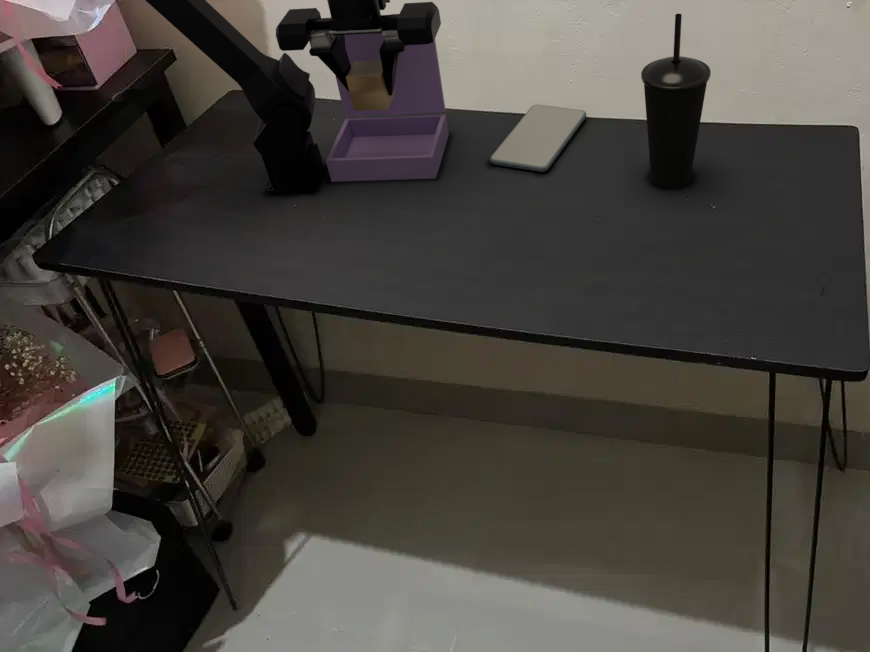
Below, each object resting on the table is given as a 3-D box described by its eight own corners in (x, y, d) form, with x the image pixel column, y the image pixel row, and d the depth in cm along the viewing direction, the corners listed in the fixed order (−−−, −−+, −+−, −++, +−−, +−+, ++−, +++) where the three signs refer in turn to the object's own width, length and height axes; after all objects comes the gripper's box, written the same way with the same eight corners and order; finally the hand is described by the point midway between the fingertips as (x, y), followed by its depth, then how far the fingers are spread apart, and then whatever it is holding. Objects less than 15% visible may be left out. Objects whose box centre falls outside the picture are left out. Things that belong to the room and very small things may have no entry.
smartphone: (487, 159, 109) (533, 103, 118) (488, 165, 110) (533, 109, 119) (546, 168, 106) (588, 110, 115) (546, 175, 107) (588, 116, 116)
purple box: (436, 178, 109) (432, 156, 106) (331, 181, 111) (325, 160, 108) (449, 134, 116) (445, 113, 114) (351, 138, 118) (345, 117, 116)
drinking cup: (632, 190, 102) (633, 27, 88) (648, 158, 107) (652, -2, 93) (694, 198, 100) (706, 32, 85) (708, 164, 104) (721, 2, 90)
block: (353, 111, 104) (345, 77, 101) (361, 94, 107) (354, 60, 104) (387, 110, 103) (380, 75, 100) (395, 93, 106) (388, 59, 103)
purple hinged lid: (431, 22, 106) (437, 10, 109) (324, 28, 108) (333, 16, 111) (444, 112, 114) (450, 98, 117) (344, 116, 116) (352, 102, 119)
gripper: (438, -67, 97) (456, 62, 108) (287, -57, 100) (319, 68, 111) (420, -32, 90) (442, 104, 101) (257, -22, 93) (294, 109, 103)
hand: (373, 94), depth 104 cm, fingers closed on block, 4 cm apart
